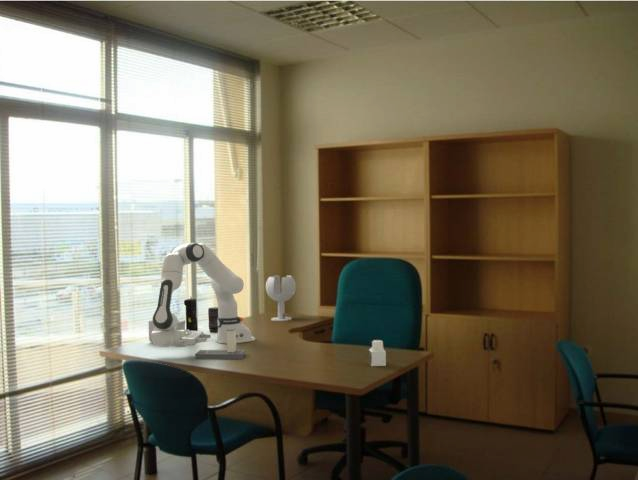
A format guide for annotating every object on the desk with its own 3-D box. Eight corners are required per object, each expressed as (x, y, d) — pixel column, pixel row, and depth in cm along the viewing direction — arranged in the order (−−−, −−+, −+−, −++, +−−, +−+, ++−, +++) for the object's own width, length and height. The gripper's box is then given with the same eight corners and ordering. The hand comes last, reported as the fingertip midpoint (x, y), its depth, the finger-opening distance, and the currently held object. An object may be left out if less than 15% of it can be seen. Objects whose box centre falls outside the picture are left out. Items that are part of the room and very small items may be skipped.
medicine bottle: (368, 363, 333) (368, 338, 333) (383, 362, 334) (383, 338, 333) (371, 366, 326) (370, 341, 326) (386, 365, 327) (385, 341, 326)
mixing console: (195, 359, 349) (195, 354, 349) (200, 354, 360) (200, 349, 360) (241, 359, 347) (241, 353, 347) (245, 354, 358) (245, 349, 358)
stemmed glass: (263, 321, 462) (262, 277, 461) (270, 317, 482) (269, 274, 481) (292, 322, 459) (291, 277, 457) (298, 317, 479) (297, 274, 477)
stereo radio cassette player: (148, 343, 394) (147, 308, 393) (156, 340, 401) (155, 306, 400) (179, 345, 386) (178, 310, 385) (187, 342, 394) (186, 308, 393)
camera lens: (223, 330, 430) (223, 307, 430) (217, 332, 423) (217, 308, 422) (212, 330, 433) (211, 306, 432) (206, 332, 425) (205, 308, 425)
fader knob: (227, 352, 351) (226, 329, 350) (229, 350, 356) (228, 328, 355) (234, 352, 350) (234, 329, 350) (236, 350, 355) (235, 328, 355)
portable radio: (193, 338, 407) (192, 296, 405) (184, 338, 408) (183, 296, 407) (198, 335, 414) (197, 294, 413) (189, 335, 415) (188, 294, 414)
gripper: (176, 336, 344) (203, 335, 343) (187, 328, 365) (212, 328, 364) (176, 348, 345) (203, 348, 344) (187, 340, 365) (212, 340, 364)
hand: (208, 338), depth 354 cm, fingers open, 8 cm apart
